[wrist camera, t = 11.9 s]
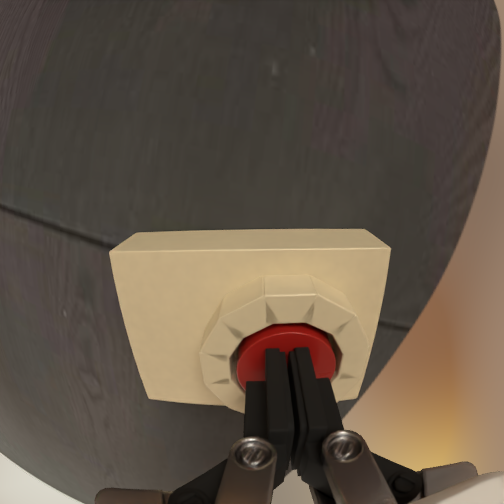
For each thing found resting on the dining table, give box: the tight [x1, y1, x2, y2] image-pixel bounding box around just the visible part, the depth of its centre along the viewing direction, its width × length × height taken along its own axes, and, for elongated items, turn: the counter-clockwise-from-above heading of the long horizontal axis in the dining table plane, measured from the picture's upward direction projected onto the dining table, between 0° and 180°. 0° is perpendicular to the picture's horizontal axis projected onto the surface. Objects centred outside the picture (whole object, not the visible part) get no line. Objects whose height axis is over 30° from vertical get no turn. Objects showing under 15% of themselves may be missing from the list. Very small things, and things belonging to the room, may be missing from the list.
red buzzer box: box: [109, 229, 391, 413], centre depth 13 cm, size 12×9×5 cm
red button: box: [237, 323, 336, 391], centre depth 11 cm, size 4×4×2 cm
